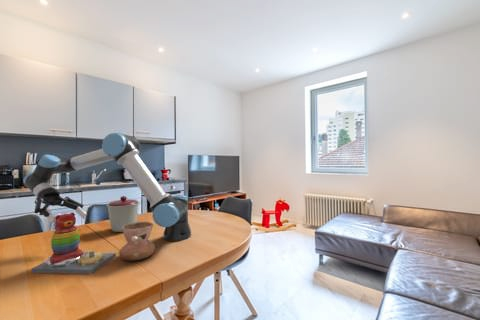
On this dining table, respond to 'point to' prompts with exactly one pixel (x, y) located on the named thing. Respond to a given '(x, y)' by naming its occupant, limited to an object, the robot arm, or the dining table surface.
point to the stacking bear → (65, 239)
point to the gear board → (79, 264)
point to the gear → (62, 262)
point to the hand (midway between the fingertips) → (70, 217)
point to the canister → (122, 213)
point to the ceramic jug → (137, 241)
